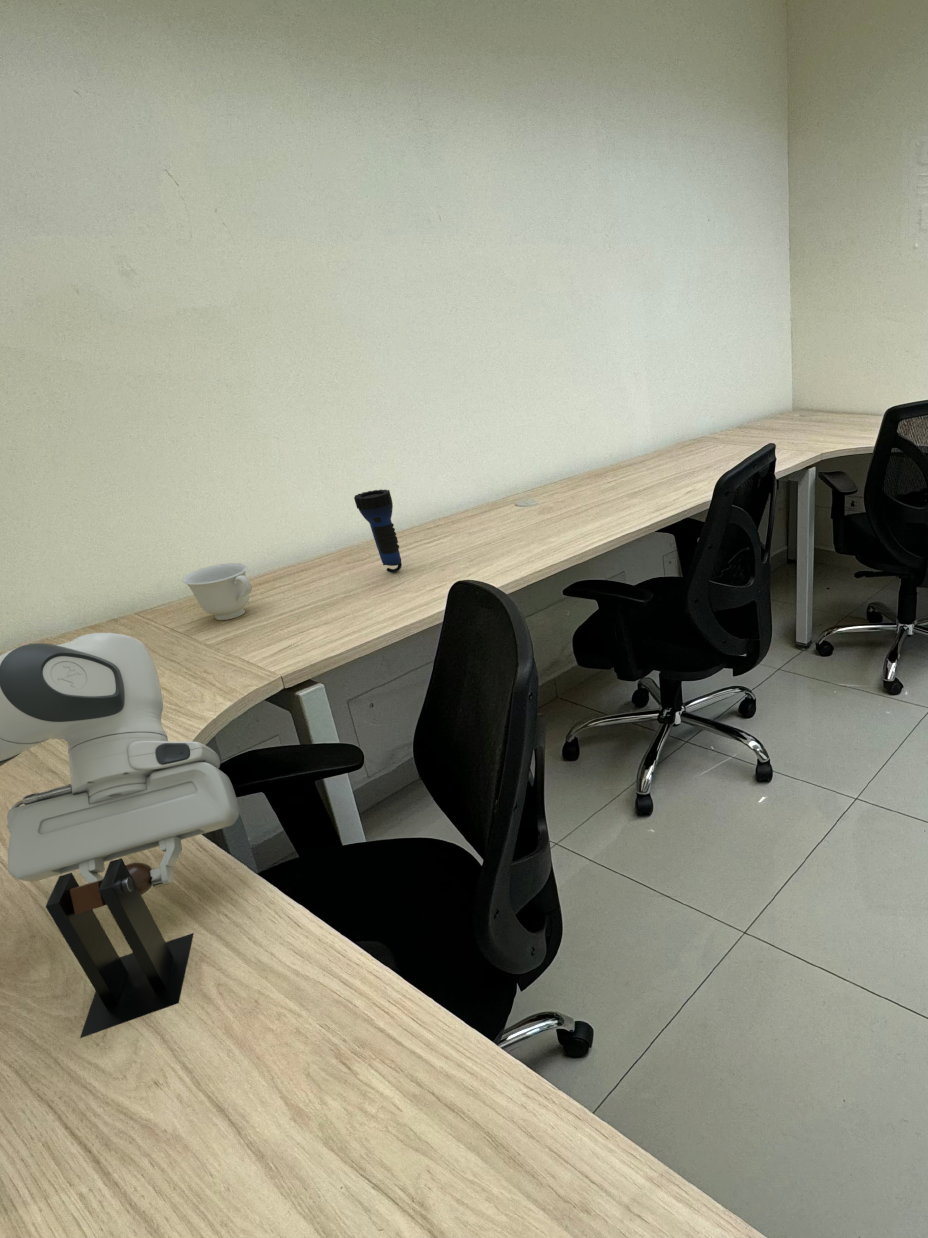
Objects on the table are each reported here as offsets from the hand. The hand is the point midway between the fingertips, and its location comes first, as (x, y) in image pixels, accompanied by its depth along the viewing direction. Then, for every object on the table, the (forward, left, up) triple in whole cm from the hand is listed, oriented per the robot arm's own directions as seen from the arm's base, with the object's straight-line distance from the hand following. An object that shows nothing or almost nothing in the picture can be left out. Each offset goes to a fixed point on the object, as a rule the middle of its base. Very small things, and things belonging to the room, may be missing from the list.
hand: (136, 893), depth 82 cm
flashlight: (+31, +111, -7) cm, 116 cm away
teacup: (-2, +102, -7) cm, 103 cm away
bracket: (0, -8, -7) cm, 10 cm away
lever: (0, -4, +2) cm, 5 cm away
